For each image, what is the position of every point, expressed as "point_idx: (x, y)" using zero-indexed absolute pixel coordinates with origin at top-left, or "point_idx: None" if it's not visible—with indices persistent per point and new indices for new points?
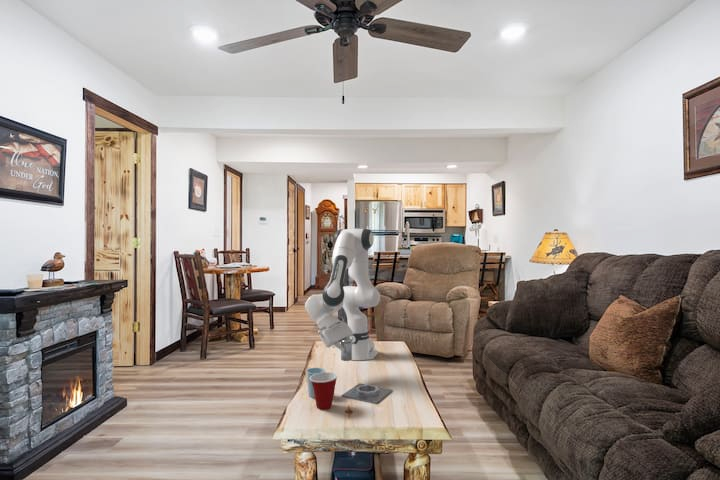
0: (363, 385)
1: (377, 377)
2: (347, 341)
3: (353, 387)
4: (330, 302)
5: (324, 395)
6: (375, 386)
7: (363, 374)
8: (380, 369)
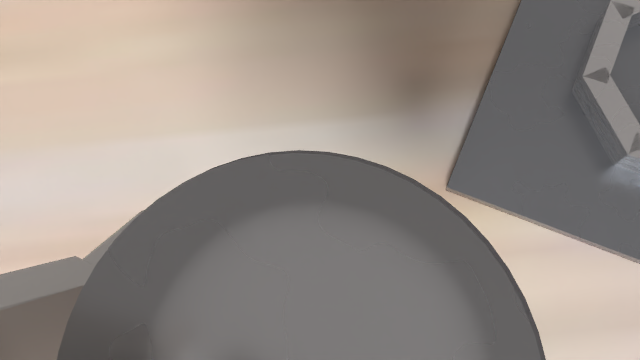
0: (624, 119)
1: (231, 49)
2: (525, 318)
3: (579, 234)
4: None
5: None
6: (630, 3)
7: (153, 179)
8: (22, 44)
